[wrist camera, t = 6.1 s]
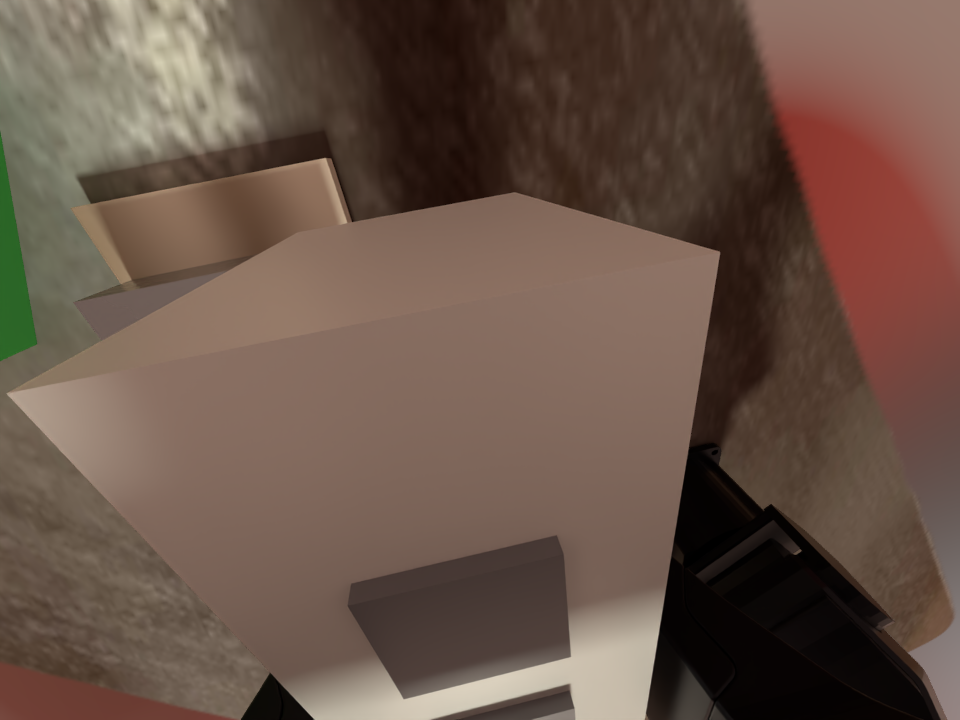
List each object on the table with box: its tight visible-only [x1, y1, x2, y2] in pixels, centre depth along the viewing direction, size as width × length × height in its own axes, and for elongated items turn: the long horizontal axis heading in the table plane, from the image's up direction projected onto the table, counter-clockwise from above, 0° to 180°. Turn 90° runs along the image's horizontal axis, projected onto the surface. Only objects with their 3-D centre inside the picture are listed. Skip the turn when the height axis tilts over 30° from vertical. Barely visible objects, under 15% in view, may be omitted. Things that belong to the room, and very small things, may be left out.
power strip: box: [7, 192, 720, 720], centre depth 8 cm, size 4×14×6 cm, turn 9°
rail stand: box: [71, 158, 352, 340], centre depth 18 cm, size 10×18×4 cm, turn 10°
